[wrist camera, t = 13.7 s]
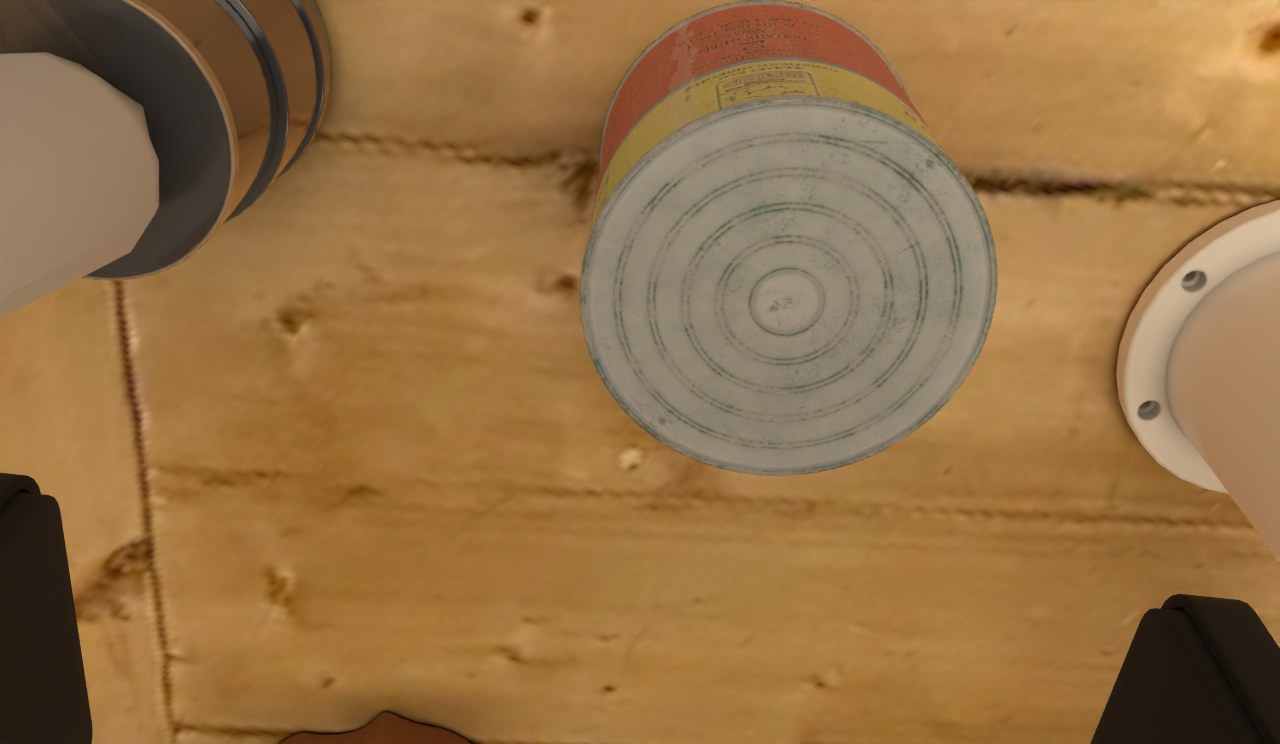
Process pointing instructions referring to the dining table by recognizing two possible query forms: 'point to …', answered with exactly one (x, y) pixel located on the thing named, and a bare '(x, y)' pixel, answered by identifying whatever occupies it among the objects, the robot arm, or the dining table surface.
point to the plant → (384, 734)
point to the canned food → (779, 247)
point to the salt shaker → (67, 175)
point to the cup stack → (194, 98)
